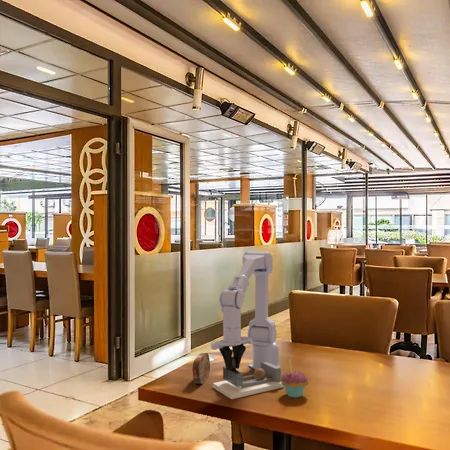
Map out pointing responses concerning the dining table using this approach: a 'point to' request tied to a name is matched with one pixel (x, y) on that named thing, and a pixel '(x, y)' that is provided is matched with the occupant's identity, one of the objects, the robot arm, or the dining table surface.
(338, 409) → the dining table surface
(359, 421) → the dining table surface
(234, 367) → the sliding jaw
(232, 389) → the board
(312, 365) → the dining table surface
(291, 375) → the cupcake
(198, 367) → the tin
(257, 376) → the nut
